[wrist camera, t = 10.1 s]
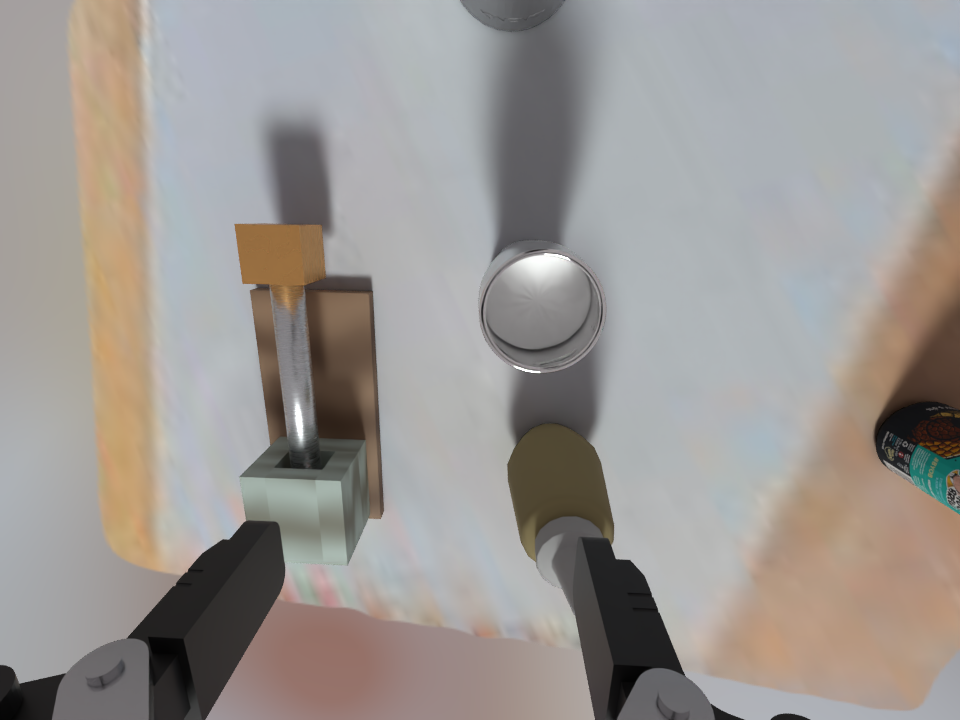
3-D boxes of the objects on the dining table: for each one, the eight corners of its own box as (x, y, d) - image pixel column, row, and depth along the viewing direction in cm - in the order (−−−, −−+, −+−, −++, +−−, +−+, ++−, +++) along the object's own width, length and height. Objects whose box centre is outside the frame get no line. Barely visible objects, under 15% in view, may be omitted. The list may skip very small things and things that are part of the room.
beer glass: (481, 237, 37) (470, 248, 22) (567, 231, 36) (612, 239, 22) (487, 320, 39) (479, 380, 24) (568, 316, 38) (609, 374, 24)
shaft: (264, 223, 34) (234, 223, 30) (321, 224, 34) (298, 225, 30) (294, 477, 41) (272, 503, 37) (342, 479, 41) (325, 506, 37)
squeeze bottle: (497, 421, 41) (495, 563, 24) (584, 402, 41) (646, 537, 23) (516, 494, 44) (527, 673, 27) (599, 479, 43) (665, 653, 26)
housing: (257, 288, 39) (197, 304, 31) (372, 291, 38) (340, 309, 31) (285, 506, 45) (241, 565, 38) (383, 511, 45) (359, 571, 37)
